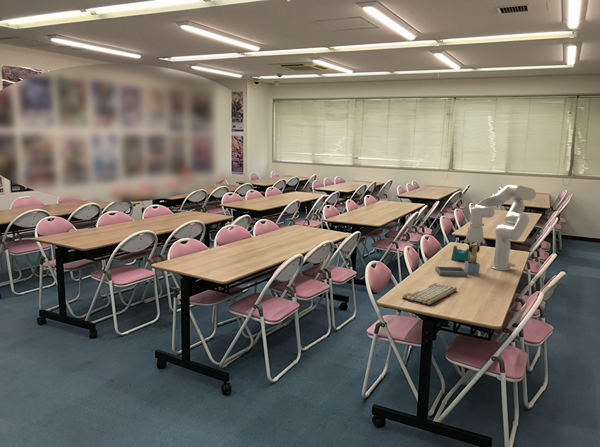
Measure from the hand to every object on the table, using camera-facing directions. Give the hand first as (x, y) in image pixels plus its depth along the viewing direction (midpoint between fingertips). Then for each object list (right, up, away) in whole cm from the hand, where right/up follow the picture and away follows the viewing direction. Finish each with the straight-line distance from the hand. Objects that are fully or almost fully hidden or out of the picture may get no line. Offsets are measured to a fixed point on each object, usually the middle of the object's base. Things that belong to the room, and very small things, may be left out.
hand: (473, 251), depth 317 cm
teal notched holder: (+5, -8, +41) cm, 42 cm away
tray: (-16, -15, -1) cm, 22 cm away
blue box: (-1, -14, +2) cm, 15 cm away
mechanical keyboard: (-42, -23, -47) cm, 67 cm away
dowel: (0, -8, +2) cm, 8 cm away
